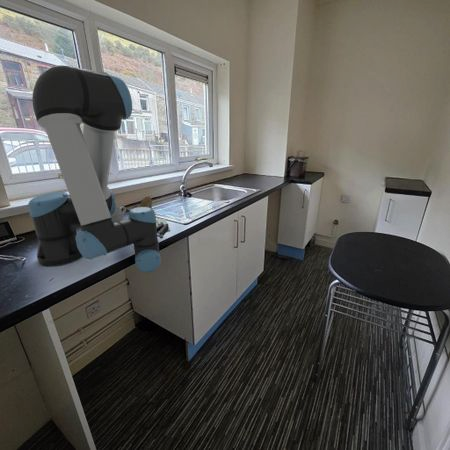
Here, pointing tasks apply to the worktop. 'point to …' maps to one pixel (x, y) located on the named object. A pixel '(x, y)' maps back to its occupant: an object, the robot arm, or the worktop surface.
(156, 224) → the plate
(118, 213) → the teacup
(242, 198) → the worktop surface
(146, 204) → the rock
